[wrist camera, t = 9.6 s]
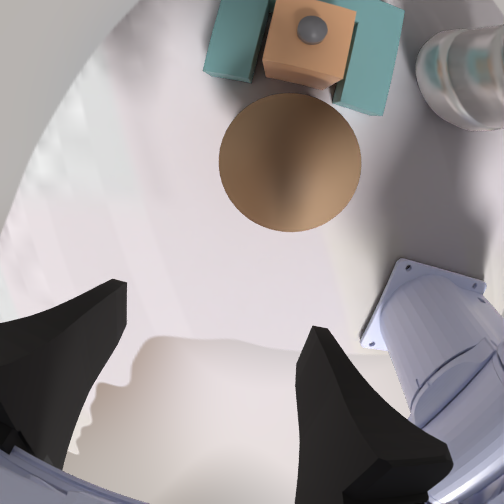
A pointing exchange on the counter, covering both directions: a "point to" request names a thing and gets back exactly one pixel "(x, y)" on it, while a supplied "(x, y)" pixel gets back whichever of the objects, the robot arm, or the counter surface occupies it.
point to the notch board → (358, 61)
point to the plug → (308, 42)
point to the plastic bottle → (464, 77)
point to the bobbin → (289, 162)
